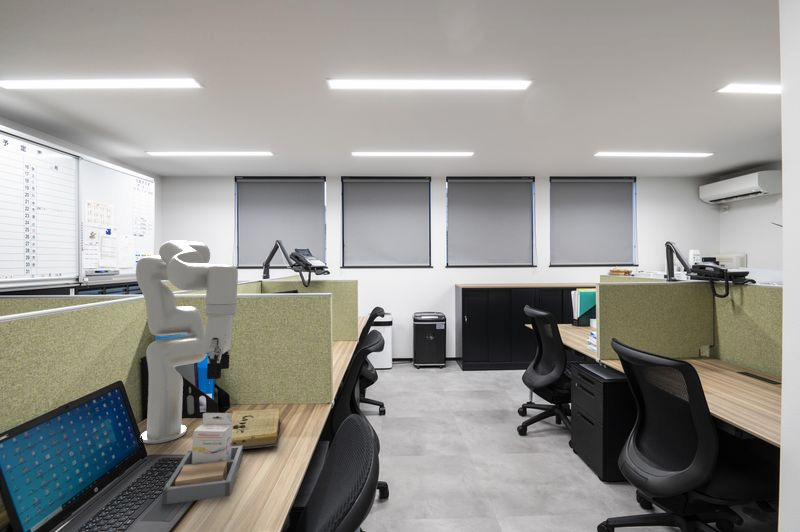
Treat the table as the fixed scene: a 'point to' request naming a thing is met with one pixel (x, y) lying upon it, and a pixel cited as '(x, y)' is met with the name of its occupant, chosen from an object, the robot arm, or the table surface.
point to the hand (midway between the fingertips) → (218, 373)
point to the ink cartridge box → (213, 439)
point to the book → (256, 428)
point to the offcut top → (201, 473)
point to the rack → (202, 489)
